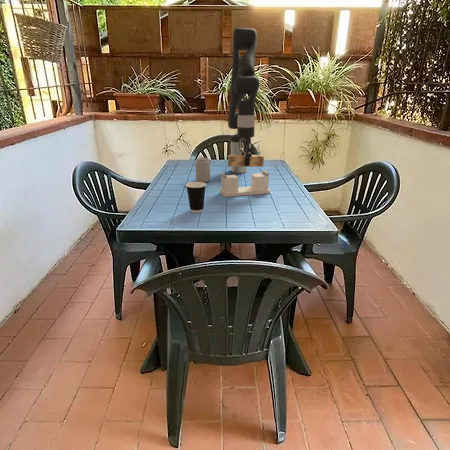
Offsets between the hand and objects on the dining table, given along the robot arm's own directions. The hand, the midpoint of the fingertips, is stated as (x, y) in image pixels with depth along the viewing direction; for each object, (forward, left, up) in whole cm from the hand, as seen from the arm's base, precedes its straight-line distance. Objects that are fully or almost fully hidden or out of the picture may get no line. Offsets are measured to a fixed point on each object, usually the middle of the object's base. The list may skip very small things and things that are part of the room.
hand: (245, 164), depth 159 cm
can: (-26, -15, -14) cm, 33 cm away
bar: (0, 0, -1) cm, 1 cm away
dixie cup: (+19, -26, -14) cm, 35 cm away
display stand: (0, 0, -13) cm, 13 cm away
